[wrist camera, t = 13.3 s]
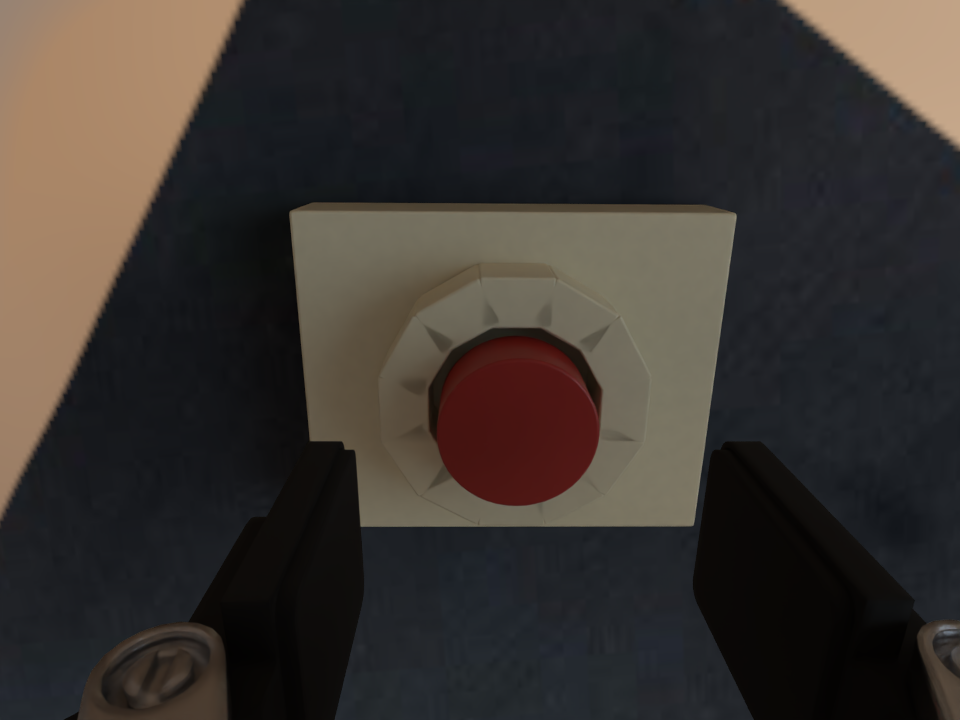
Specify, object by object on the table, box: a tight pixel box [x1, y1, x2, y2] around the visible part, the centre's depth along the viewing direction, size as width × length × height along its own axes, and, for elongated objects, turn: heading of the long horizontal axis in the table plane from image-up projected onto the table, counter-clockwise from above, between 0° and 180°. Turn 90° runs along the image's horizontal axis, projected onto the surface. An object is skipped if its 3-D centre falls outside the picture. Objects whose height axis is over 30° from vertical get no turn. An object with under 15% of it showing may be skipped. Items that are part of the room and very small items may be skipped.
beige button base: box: [289, 203, 736, 527], centre depth 17 cm, size 11×9×4 cm
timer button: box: [437, 336, 600, 506], centre depth 15 cm, size 4×4×2 cm
